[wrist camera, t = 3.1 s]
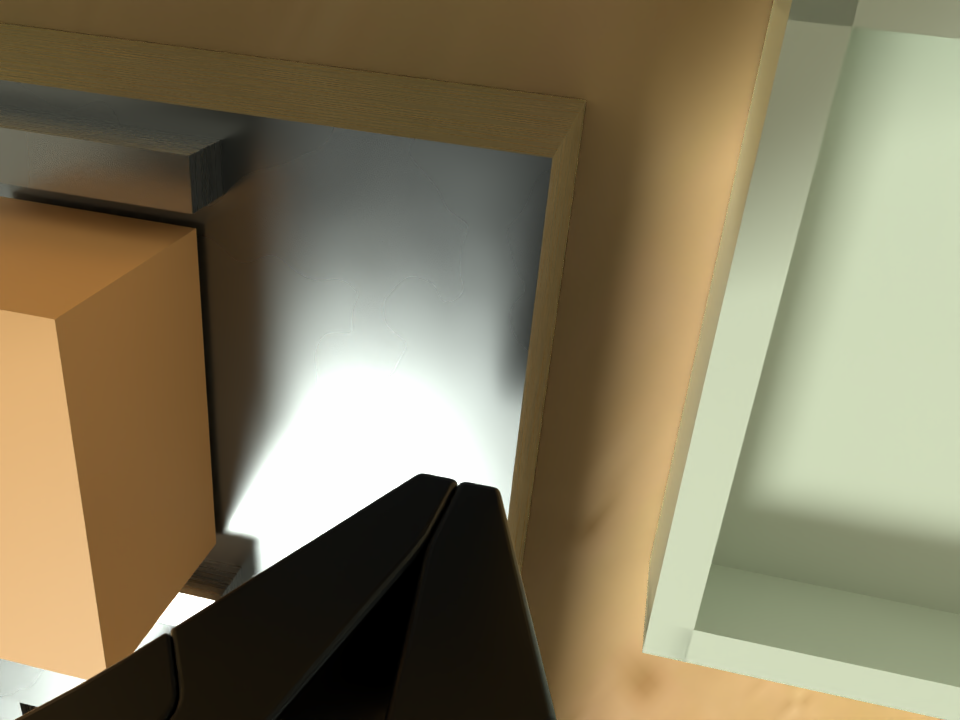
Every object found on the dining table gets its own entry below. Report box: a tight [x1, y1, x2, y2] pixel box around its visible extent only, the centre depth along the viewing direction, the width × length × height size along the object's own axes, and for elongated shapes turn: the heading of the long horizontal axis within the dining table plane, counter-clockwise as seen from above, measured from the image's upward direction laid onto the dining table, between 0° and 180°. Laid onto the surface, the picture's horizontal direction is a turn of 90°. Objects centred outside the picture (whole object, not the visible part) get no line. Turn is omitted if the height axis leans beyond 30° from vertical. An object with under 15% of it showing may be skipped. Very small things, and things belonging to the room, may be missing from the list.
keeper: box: [0, 197, 216, 680], centre depth 10 cm, size 2×4×2 cm, turn 175°
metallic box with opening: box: [0, 23, 586, 720], centre depth 15 cm, size 10×18×4 cm, turn 175°
